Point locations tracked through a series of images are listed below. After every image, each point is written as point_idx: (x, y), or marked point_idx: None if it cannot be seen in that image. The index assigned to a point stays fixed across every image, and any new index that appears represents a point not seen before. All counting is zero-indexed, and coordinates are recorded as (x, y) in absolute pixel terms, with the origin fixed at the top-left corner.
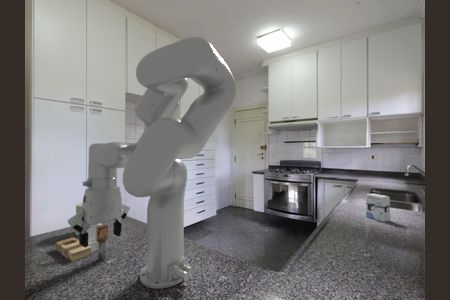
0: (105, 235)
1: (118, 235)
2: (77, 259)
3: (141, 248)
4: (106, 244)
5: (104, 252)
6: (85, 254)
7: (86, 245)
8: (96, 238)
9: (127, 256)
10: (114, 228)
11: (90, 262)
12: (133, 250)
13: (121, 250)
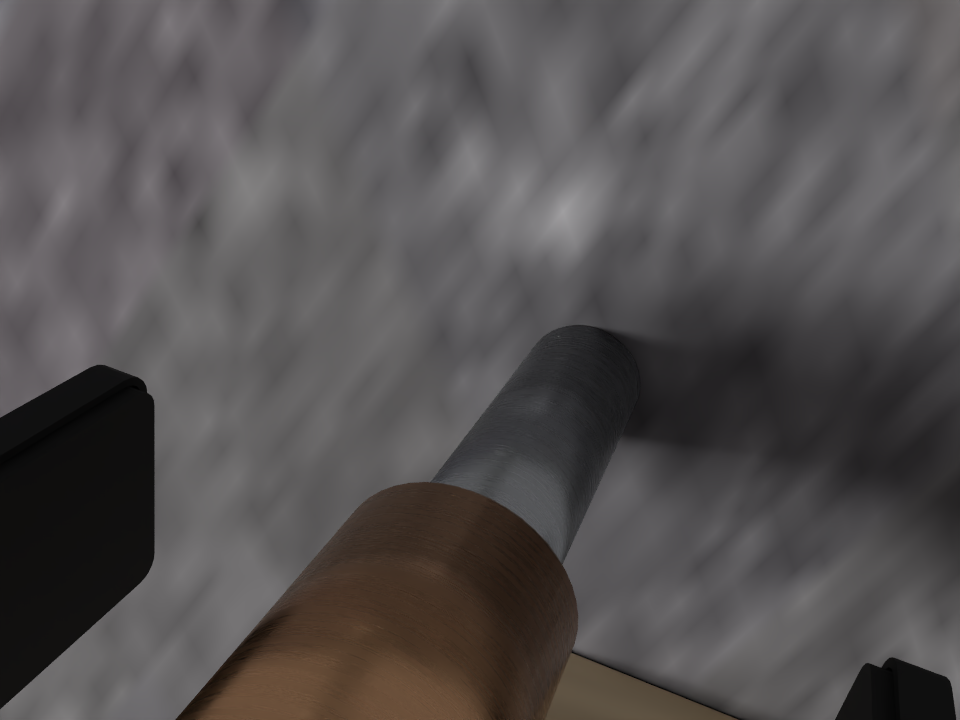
0: (390, 567)
1: (134, 389)
2: (719, 717)
3: (49, 33)
4: None
5: (537, 383)
6: (605, 698)
7: (932, 691)
8: (547, 710)
9: (326, 33)
10: (40, 631)
11: (710, 483)
12: (156, 115)
13: (253, 313)
